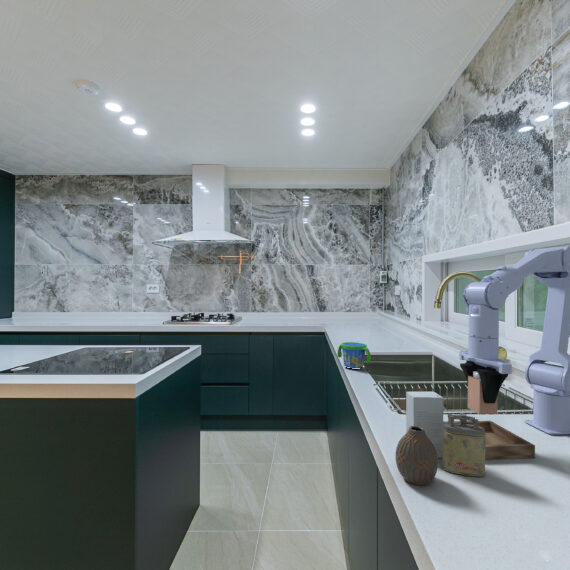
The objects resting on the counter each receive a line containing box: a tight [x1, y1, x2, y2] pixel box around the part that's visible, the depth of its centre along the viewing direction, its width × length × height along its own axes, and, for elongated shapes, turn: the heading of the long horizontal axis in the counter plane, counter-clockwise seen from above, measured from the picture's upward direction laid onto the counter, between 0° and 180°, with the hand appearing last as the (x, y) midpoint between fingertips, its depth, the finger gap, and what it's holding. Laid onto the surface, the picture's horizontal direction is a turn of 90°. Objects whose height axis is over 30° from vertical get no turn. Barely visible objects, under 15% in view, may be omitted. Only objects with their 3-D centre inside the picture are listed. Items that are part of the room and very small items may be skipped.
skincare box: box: [405, 391, 444, 459], centre depth 70 cm, size 6×4×12 cm
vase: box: [395, 426, 439, 486], centre depth 61 cm, size 7×7×9 cm
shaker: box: [467, 371, 498, 415], centre depth 76 cm, size 4×4×8 cm
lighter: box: [441, 413, 486, 478], centre depth 63 cm, size 7×4×10 cm, turn 74°
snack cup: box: [337, 341, 372, 368], centre depth 146 cm, size 16×10×10 cm
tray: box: [443, 420, 536, 460], centre depth 75 cm, size 13×13×2 cm
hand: (482, 399), depth 76 cm, fingers closed on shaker, 4 cm apart
